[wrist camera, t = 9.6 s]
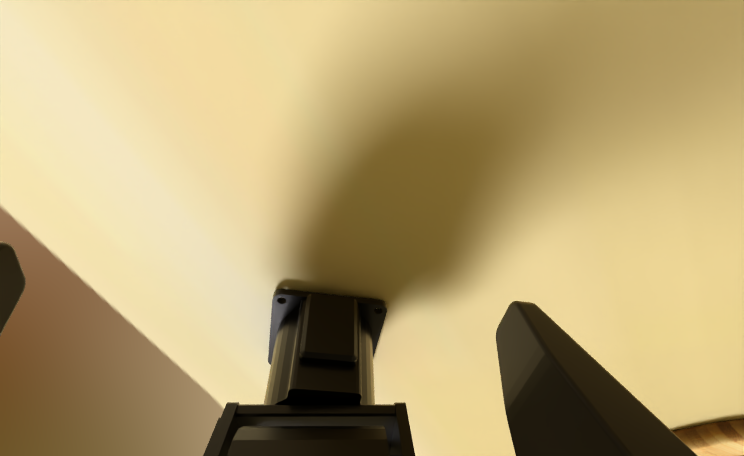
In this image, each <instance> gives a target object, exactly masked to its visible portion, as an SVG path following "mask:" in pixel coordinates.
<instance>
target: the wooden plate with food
mask: <svg viewBox="0 0 744 456" xmlns="http://www.w3.org/2000/svg"><path fill="white" fill-rule="evenodd" d="M673 433H674V434H675V435H676V436H677V437H678V438H679V439H681V440H682V441H683V442H684V443H685V444H686V445H687V446H688V447H689V448H690V449H691V450H692V451H693V452H694V453H696V454H697V455H698V456H744V419H739V420H730V421H723V422H716V423H710V424H705V425H700V426H694V427H690V428H685V429H681V430H677V431H673Z"/></svg>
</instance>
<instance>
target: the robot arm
mask: <svg viewBox="0 0 744 456" xmlns="http://www.w3.org/2000/svg"><path fill="white" fill-rule="evenodd" d="M24 288H25V276H24V273H23V270H22V268H21V265H20V263H19V260H18V257H17V255H16V252H15V250H14V248H13V247H12V246H11V245H10V244H9V243H5V242H0V335H1V333H2V331H3V329H4V327H5V326H6V324H7V322H8V320H9V318H10V316H11V314H12V312H13V310H14V308H15V306H16V305H17V303H18V301H19V299H20V297H21V295H22V293H23V291H24ZM281 297H282V298H285V299H281ZM376 308H380V309H376ZM386 313H387V306H386V303H385V302H384V301H382V300H377V299H368V298H359V297H349V296H340V295H331V294H322V293H313V292H304V291H295V290H286V289H279V290H277V291H275V292H274V295H273V301H272V314H271V328H270V342H269V355H268V362H269V364H270V365H271V368H270V374H269V379H268V385H267V390H266V395H265V401H264V405H239V403H227V404H226V406H225V409H224V411H223V414H222V416H221V418H219V419H218V421H217V424H216V426H215V429H214V431H213V433H212V436H211V438H210V441H209V443H208V446H207V448H206V450H205V453H204V455H203V456H415V453H414V447H413V442H412V436H411V431H410V425H409V420H408V414H407V409H406V403H394V405H375V400H374V374H373V356H374V353H375V350H376V346H377V343H378V340H379V336H380V333H381V329H382V326H383V323H384V319H385V316H386ZM496 343H497V351H498V358H499V366H500V374H501V382H502V389H503V397H504V404H505V410H506V415H507V420H508V424H509V429H510V433H511V437H512V441H513V445H514V449H515V454H516V456H698V455H697V454H696V453H694V452H693V451H692V450H691V449H690V448H689V447H688V446H687V445H686V444H685V443H684V442H683V441H682V440H681V439H679V438H678V437H677V436H676V435H675V434H674V433H673V432H672V431H671V430H670V429H669V428H668V427H667V426H666V425H664V424H663V423H662V422H661V421H660V420H659V419H658V418H657V417H656V416H655V415H654V414H653V413H652V412H650V411H649V410H648V409H647V408H646V407H645V406H644V405H643V404H642V403H641V402H640V401H639V400H638V399H637V398H635V397H634V396H633V395H632V394H631V393H630V392H629V391H628V390H627V389H626V388H625V387H624V386H623V385H622V384H620V383H619V382H618V381H617V380H616V379H615V378H614V377H613V376H612V375H611V374H610V373H609V372H608V371H606V370H605V369H604V368H603V367H602V366H601V365H600V364H599V363H598V362H597V361H596V360H595V359H594V358H593V357H591V356H590V355H589V354H588V353H587V352H586V351H585V350H584V349H583V348H582V347H581V346H580V345H579V344H577V343H576V342H575V341H574V340H573V339H572V338H571V337H570V336H569V335H568V334H567V333H566V332H565V331H564V330H562V329H561V328H560V327H559V326H558V325H557V324H556V323H555V322H554V321H553V320H552V319H551V318H550V317H549V316H547V315H546V314H545V313H544V312H543V311H542V310H541V309H540V308H539V307H538V306H537V305H535V304H534V303H530V302H521V301H514V302H512V303H511V304H510V305H509V307H508V309H507V311H506V313H505V315H504V317H503V318H502V320H501V322H500V324H499V326H498V328H497V332H496Z"/></svg>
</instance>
